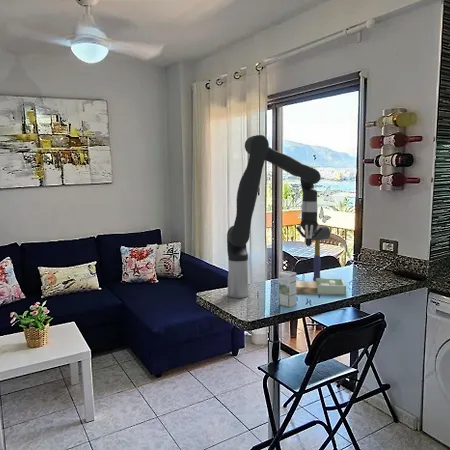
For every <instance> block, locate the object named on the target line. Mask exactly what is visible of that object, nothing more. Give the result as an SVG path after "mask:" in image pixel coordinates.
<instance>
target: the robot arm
mask: <svg viewBox="0 0 450 450" xmlns="http://www.w3.org/2000/svg"><path fill="white" fill-rule="evenodd" d="M244 150H245V151H246V153H247V154H248V156H249V157H248V161H247V165H246V168H245V169H244V171H243V174H242V175H241V178H240V180H239V182H238V183H239V184H238V188H237V192H236V215H235V220H234V223H233V225H231V226H230V227H229V229H228V230H227V233H226V244H227V245H226V247H227V248H226V251H227V257H228V259H227V261H228V262H227V263H228V264H227V265H228V267H227V268H228V276H227V297H228V298H234V299H242V298H247V297H248V296H249V253H248V251H247V243H248V242H249V240H250V237H251V236H250V235H251V225H252V217H253V214H254V211H255V207H256V202H257V198H258V193H259V188H260V184H261V178H262V174H263V168H264V163H265V161H266V162H268V163H271V164H272V165H274V166H276V167H278V168H279V169H282V171H284V172H286V173H288V174H290V175H292V176H294V177H298V178H300V187H301V192H302V199H301V200H302V203H301V221H300V224H299V225H298V226H296V228H295V229H296V231H298V233H299V235H300V236H301V237H302V238H305V245H306V246H307V247H311V245H312V243H313V241H312V238H315V237H316V236H317V235H318V233H319V232H320V231H321V230H322V228H321V227H320V226H321V225H319V223H318V191H317V189H315V186H314V185H315V184H319V182H320V181H321V174H320V172H319V170H317V169H315V168H313V167H312V166H310V165H306V164H304V163H303V162H301V161H299V160H298V159H295V158H294V157H292V156H290V155H288V154H285V153H282V152H280V151H277V150H275V149H273V148H271V147H270V144H269V140H268V138H267V137H266V136H265V135H263V134H257V135H256V134H255V135H252V136H250V137H248V138H247V139H246V140H245V142H244ZM316 227H317V231H316V232H315V233H314V235H312V232H313V231H314V230H315V229H316ZM302 230H303V231H304V232H303V231H302ZM308 231H310V234H309V238H308ZM305 232H306V235H305Z"/></svg>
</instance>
